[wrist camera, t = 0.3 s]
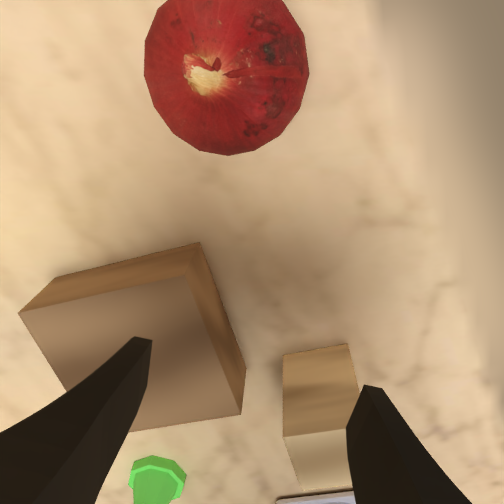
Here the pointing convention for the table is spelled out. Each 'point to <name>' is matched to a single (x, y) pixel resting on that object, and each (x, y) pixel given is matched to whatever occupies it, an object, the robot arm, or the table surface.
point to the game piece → (156, 480)
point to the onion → (226, 71)
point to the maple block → (319, 414)
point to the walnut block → (146, 333)
